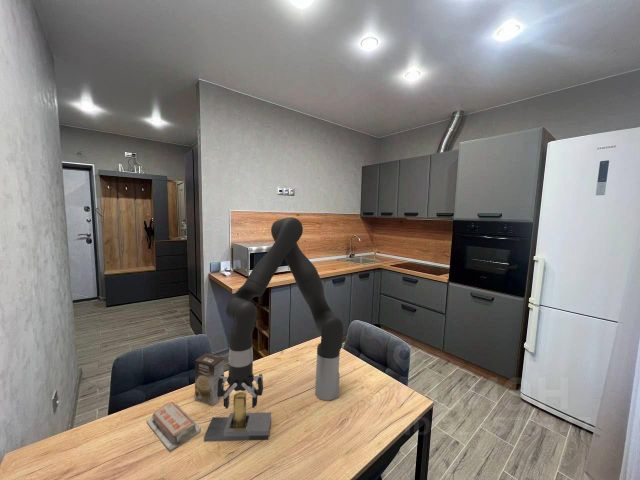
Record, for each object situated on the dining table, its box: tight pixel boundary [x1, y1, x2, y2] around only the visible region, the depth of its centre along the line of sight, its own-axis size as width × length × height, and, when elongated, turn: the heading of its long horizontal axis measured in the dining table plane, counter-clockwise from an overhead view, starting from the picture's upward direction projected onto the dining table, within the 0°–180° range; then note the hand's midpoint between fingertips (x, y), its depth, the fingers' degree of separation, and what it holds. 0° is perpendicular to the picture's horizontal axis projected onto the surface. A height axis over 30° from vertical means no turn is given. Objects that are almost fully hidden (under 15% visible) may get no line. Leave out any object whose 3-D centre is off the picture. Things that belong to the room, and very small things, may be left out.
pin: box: [232, 391, 247, 429], centre depth 86 cm, size 4×4×12 cm
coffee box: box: [194, 352, 225, 407], centre depth 101 cm, size 9×6×16 cm
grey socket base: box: [203, 412, 272, 442], centre depth 87 cm, size 20×8×3 cm, turn 94°
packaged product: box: [145, 401, 202, 453], centre depth 87 cm, size 18×5×10 cm
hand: (240, 406), depth 86 cm, fingers open, 8 cm apart
